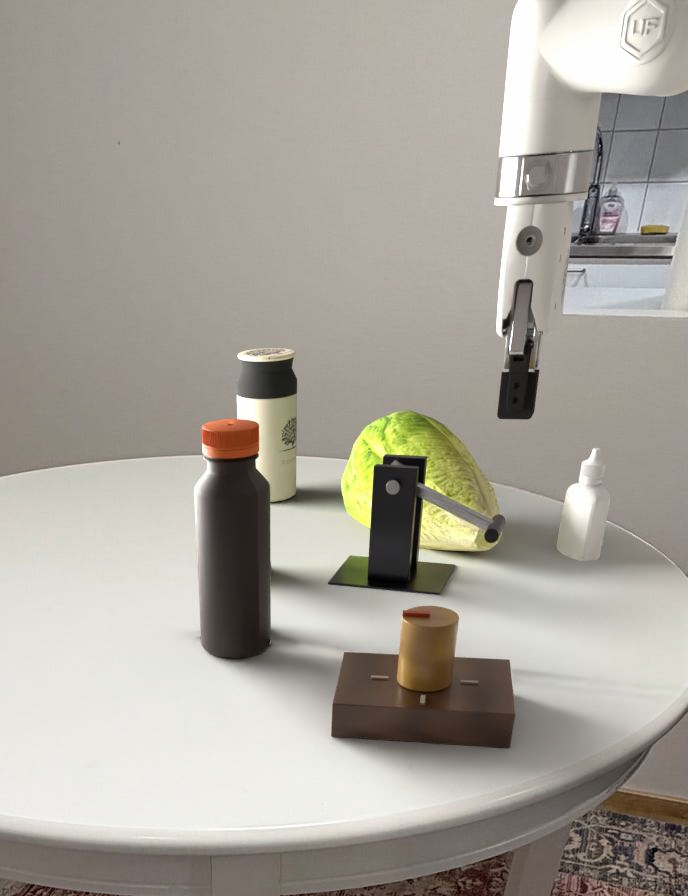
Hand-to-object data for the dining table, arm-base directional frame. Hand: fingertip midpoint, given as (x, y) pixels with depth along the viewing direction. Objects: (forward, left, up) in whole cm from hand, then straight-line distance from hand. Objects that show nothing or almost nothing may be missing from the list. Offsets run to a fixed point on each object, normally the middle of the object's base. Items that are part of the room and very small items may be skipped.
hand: (515, 416), depth 90 cm
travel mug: (+29, -35, -18) cm, 49 cm away
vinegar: (+24, +16, -18) cm, 34 cm away
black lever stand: (+10, -2, -17) cm, 20 cm away
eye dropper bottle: (-10, -11, -18) cm, 23 cm away
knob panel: (+6, +28, -17) cm, 34 cm away
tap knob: (+6, +28, -14) cm, 32 cm away
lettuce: (+7, -16, -18) cm, 25 cm away
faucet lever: (+6, -1, -9) cm, 11 cm away
